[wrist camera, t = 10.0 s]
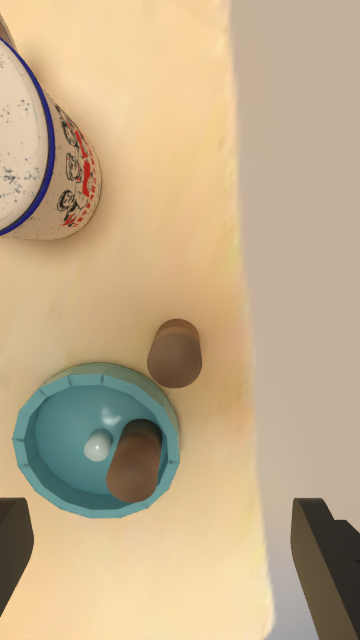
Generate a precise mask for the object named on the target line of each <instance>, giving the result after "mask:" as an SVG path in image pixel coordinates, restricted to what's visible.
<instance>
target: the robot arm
mask: <svg viewBox="0 0 360 640" xmlns="http://www.w3.org/2000/svg"><path fill="white" fill-rule="evenodd" d="M291 525H292V526H291V550H292V556H293V561H294V564H295V567H296V571H297V574H298V577H299V580H300V583H301V586H302V589H303V592H304V595H305V598H306V601H307V604H308V607H309V610H310V613H311V616H312V619H313V622H314V625H315V628H316V631H317V634H318V637H319V640H360V533H359V532H358V531H357V530H356V529H355V528H354V527H353V526H352V525H351V524H349V523H348V522H347V521H346V520H334V518H333V516H332V514H331V512H330V511H329V509H328V507H327V505H326V503H325V502H324V500H323V499H321V498H295V499H294V500H293V510H292V524H291ZM33 545H34V535H33V530H32V525H31V520H30V514H29V509H28V504H27V501H26V499H25V498H0V617H1V615H2V613H3V611H4V609H5V607H6V605H7V603H8V601H9V599H10V597H11V595H12V593H13V591H14V589H15V588H16V586H17V584H18V582H19V580H20V578H21V576H22V574H23V572H24V570H25V568H26V566H27V564H28V562H29V560H30V557H31V554H32V550H33Z"/></svg>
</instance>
